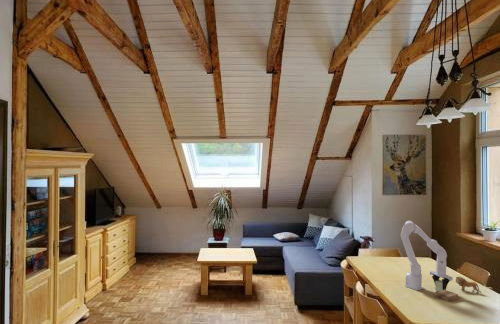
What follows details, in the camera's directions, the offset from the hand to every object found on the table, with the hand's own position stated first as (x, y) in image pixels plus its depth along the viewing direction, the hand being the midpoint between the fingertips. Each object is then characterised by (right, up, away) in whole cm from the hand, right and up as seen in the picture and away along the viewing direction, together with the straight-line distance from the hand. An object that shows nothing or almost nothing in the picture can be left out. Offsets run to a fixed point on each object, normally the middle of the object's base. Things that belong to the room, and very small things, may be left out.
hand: (440, 288), depth 241 cm
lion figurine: (+18, -3, +1) cm, 18 cm away
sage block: (0, -1, 0) cm, 1 cm away
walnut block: (-2, -2, -12) cm, 12 cm away
